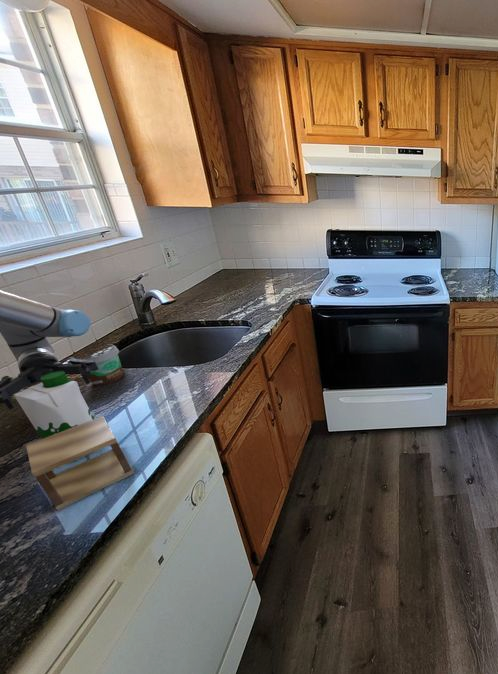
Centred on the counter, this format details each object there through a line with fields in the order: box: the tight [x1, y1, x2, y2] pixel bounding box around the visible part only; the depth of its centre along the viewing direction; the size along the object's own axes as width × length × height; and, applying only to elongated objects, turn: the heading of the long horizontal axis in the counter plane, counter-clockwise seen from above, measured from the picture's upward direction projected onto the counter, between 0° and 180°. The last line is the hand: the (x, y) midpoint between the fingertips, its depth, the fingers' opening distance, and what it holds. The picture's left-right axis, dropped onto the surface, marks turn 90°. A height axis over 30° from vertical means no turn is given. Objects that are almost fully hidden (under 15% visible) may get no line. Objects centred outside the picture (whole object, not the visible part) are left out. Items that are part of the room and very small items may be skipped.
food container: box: [82, 343, 125, 387], centre depth 119 cm, size 12×6×10 cm, turn 0°
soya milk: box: [13, 371, 95, 463], centre depth 86 cm, size 9×9×20 cm
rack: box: [25, 415, 135, 511], centre depth 79 cm, size 12×12×10 cm
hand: (49, 390), depth 89 cm, fingers open, 13 cm apart
